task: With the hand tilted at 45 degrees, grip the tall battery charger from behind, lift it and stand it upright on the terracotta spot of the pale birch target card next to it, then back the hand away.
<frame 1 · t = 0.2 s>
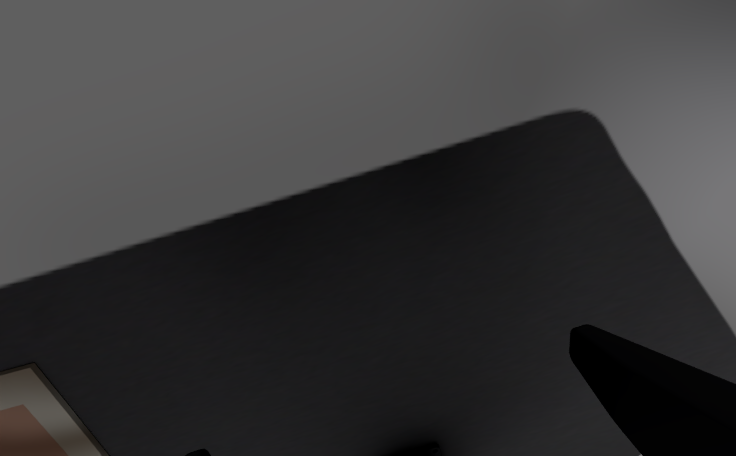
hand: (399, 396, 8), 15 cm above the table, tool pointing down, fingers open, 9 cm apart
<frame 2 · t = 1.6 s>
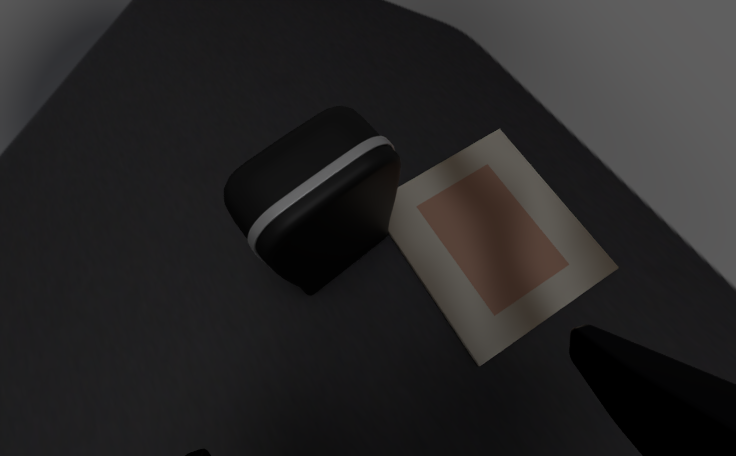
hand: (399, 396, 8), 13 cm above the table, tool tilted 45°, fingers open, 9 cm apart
target card: (488, 236, 24), on the table
battery charger: (333, 245, 24), on the table
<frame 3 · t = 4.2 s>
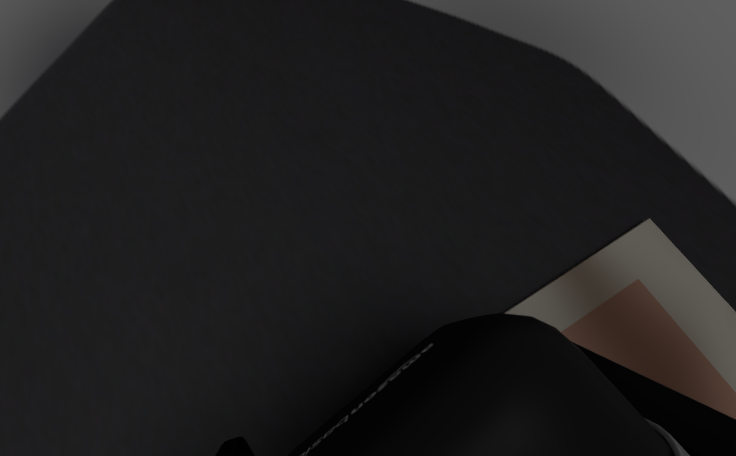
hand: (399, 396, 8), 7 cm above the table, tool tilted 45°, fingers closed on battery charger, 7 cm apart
target card: (652, 408, 14), on the table
battery charger: (395, 414, 14), on the table, touching gripper
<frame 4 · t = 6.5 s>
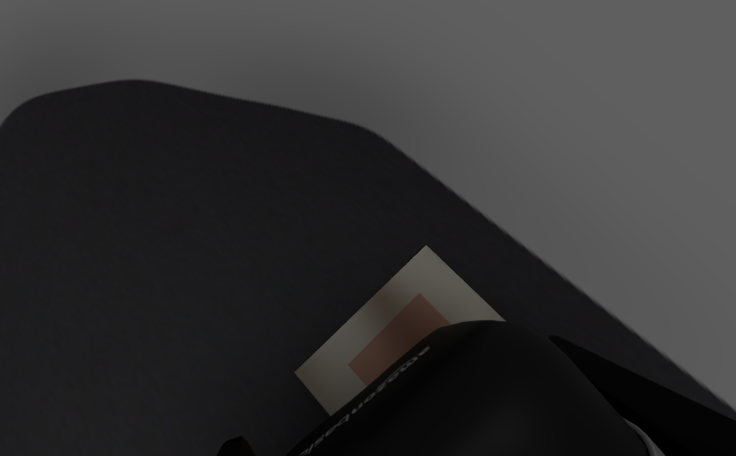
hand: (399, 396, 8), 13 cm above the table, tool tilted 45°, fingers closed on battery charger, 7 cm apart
target card: (435, 382, 21), on the table
battery charger: (390, 409, 15), point 6 cm above the table, touching gripper
when the fingers open (8 cm above the table, at t = 8.6 s): battery charger stays where it is, resting on target card.
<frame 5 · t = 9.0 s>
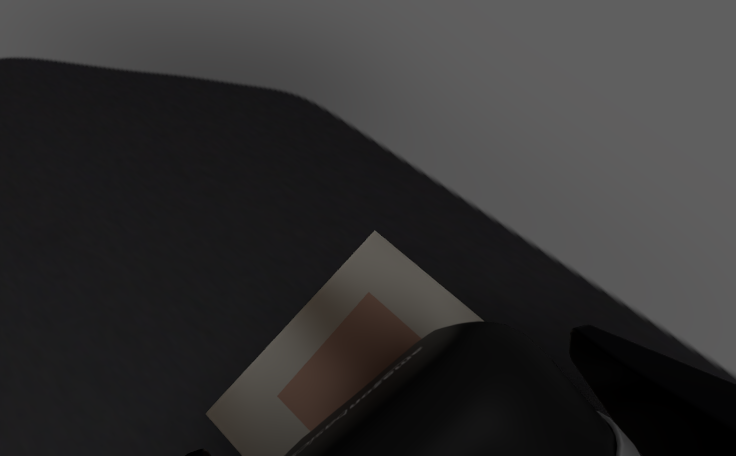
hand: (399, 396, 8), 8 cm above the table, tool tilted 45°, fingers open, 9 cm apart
target card: (395, 408, 16), on the table
battery charger: (391, 412, 15), resting on target card
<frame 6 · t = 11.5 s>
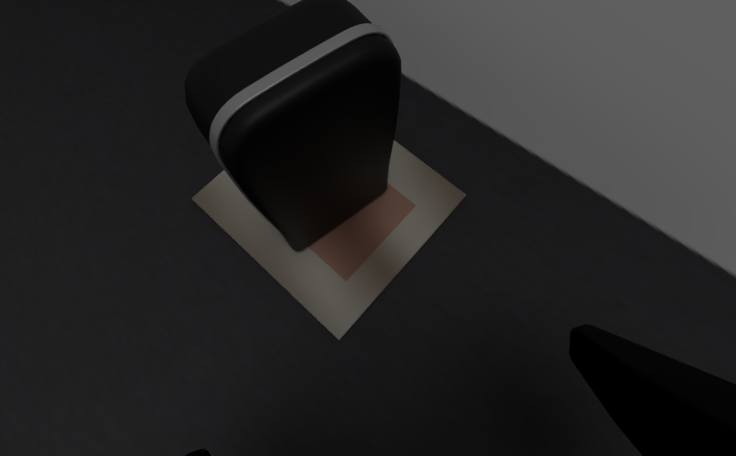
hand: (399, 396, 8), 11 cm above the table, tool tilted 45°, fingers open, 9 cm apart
target card: (329, 199, 22), on the table
battery charger: (326, 200, 21), resting on target card
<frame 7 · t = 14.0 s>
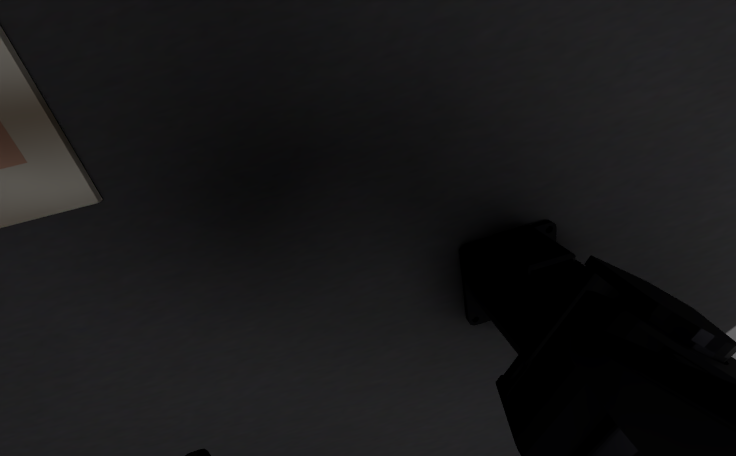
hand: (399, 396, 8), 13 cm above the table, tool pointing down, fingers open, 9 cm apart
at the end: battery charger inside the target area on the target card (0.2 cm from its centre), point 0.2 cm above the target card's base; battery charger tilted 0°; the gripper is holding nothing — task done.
